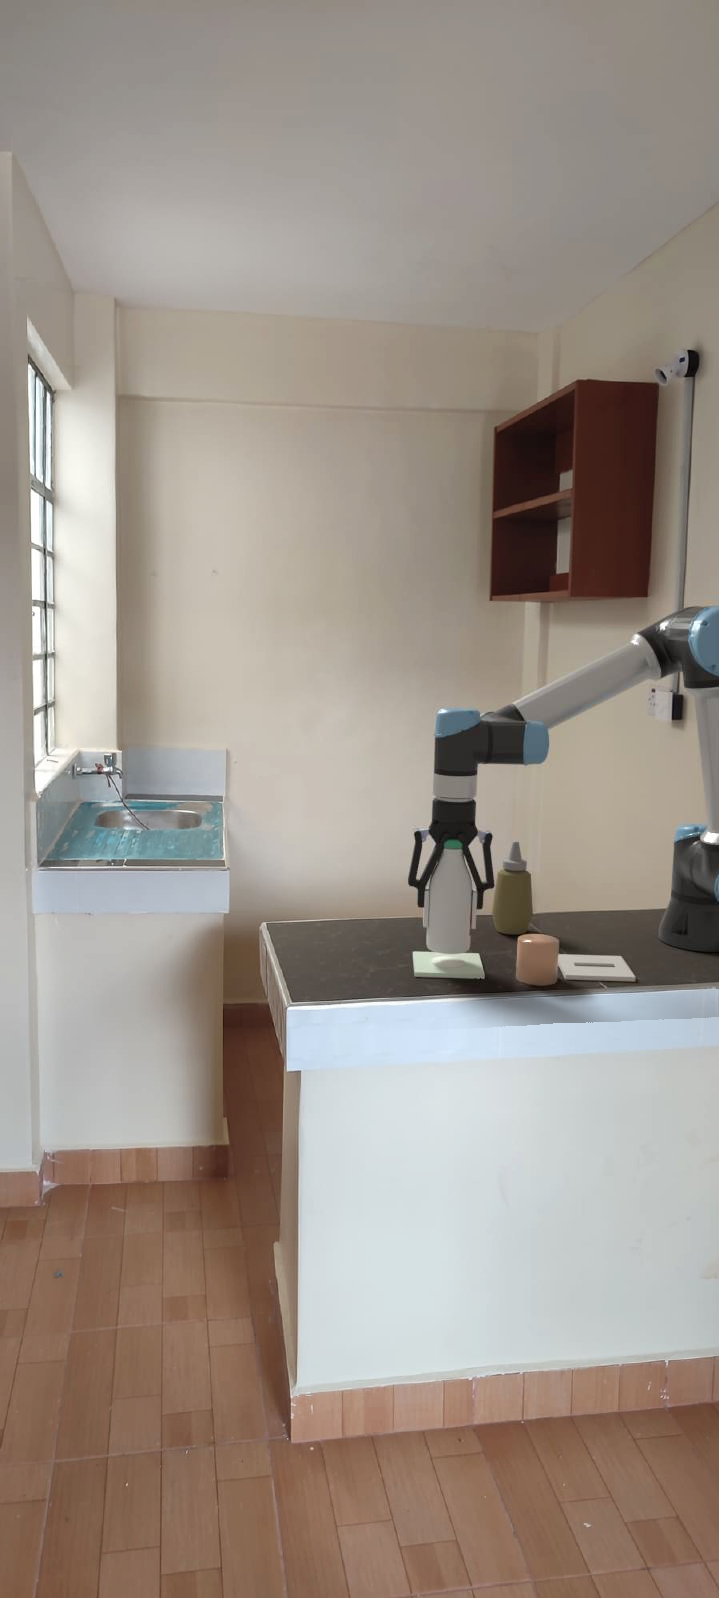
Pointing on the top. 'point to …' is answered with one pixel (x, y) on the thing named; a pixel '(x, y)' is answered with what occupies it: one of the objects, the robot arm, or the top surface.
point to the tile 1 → (448, 965)
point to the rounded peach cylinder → (537, 959)
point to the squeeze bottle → (513, 895)
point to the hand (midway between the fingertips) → (449, 925)
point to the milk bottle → (450, 902)
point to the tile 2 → (594, 968)
